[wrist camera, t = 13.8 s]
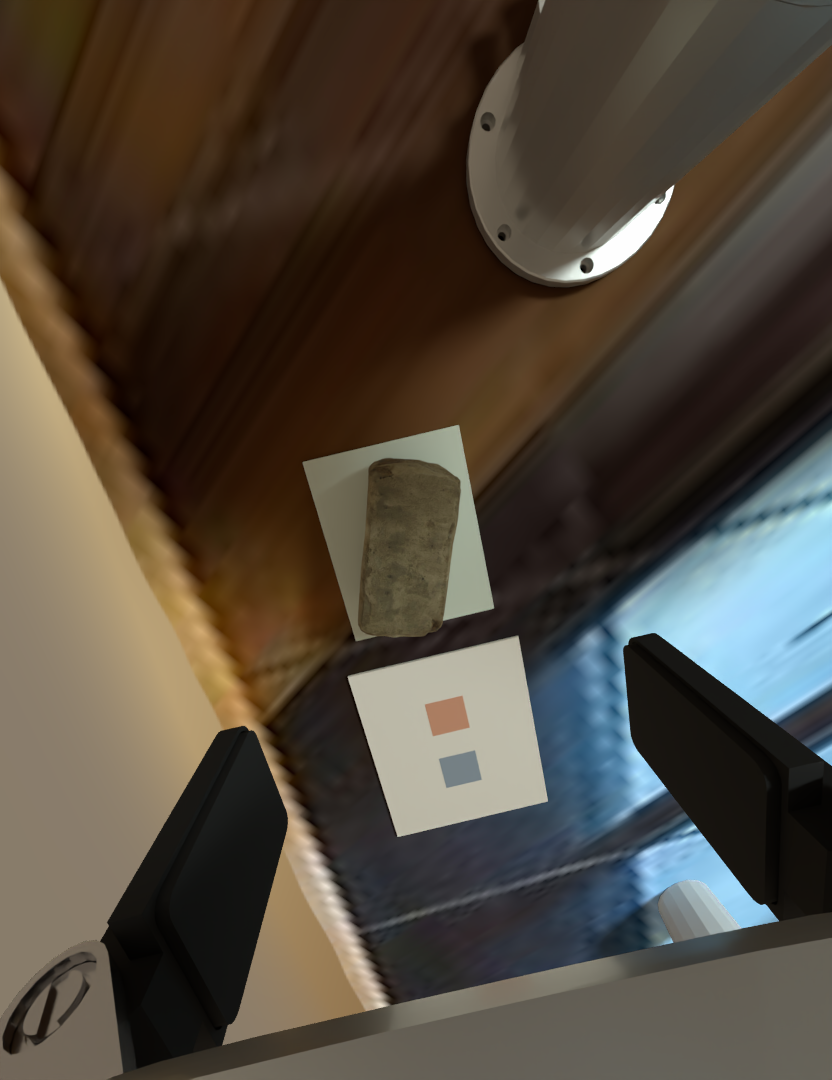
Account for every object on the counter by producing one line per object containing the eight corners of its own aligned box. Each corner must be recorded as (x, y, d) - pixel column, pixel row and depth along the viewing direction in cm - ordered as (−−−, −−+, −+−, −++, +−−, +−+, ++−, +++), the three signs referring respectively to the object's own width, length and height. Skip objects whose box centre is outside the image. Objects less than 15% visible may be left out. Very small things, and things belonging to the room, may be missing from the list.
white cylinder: (724, 908, 42) (789, 1000, 35) (662, 934, 42) (715, 1029, 35) (707, 865, 40) (771, 952, 33) (643, 892, 40) (694, 984, 33)
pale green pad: (303, 461, 28) (302, 462, 27) (457, 425, 28) (458, 424, 27) (356, 638, 31) (355, 641, 31) (492, 606, 31) (494, 608, 31)
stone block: (360, 608, 30) (355, 641, 25) (369, 454, 28) (365, 457, 23) (436, 613, 31) (444, 645, 26) (452, 461, 28) (465, 466, 23)
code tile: (348, 675, 32) (347, 677, 32) (517, 635, 32) (518, 636, 32) (397, 834, 36) (397, 837, 36) (547, 799, 36) (547, 801, 36)
